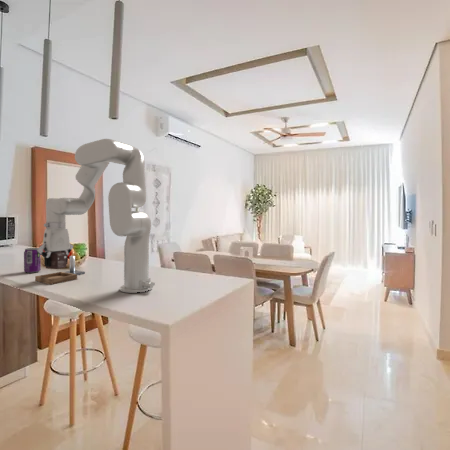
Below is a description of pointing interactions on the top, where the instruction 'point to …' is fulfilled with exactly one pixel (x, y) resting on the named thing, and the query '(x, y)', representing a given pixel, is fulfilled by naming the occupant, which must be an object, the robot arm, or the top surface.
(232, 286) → the top surface
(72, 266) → the gauge stand
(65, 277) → the tray
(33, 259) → the beverage can
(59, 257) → the box
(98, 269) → the top surface
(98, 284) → the top surface
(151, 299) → the top surface
